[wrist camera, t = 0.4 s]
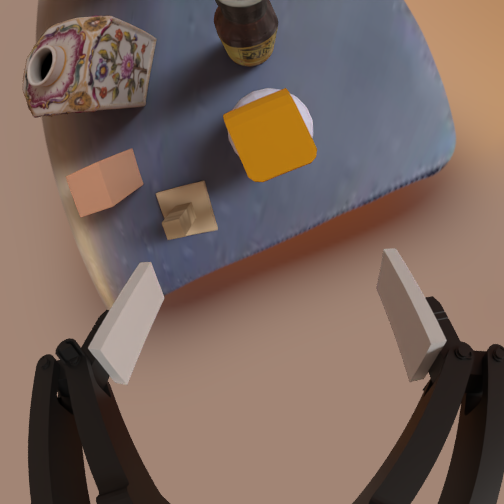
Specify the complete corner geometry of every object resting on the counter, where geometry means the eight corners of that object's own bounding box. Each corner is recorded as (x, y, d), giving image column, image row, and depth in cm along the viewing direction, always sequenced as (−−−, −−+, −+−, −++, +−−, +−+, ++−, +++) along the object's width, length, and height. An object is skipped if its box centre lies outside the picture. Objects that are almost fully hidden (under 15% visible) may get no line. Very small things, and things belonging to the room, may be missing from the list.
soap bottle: (253, 165, 38) (235, 246, 17) (226, 109, 34) (163, 109, 13) (311, 142, 36) (376, 192, 14) (285, 85, 32) (317, 42, 10)
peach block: (102, 160, 38) (65, 176, 29) (132, 148, 37) (97, 161, 28) (113, 194, 41) (80, 217, 32) (143, 184, 40) (113, 206, 31)
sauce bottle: (250, 76, 31) (234, 41, 14) (218, 49, 30) (174, 0, 12) (284, 47, 29) (301, -9, 12) (251, 21, 27) (238, -49, 10)
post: (157, 192, 40) (138, 208, 34) (204, 180, 39) (192, 195, 33) (172, 237, 44) (157, 259, 38) (217, 228, 43) (209, 250, 37)
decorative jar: (95, 43, 28) (18, 30, 12) (158, 36, 28) (92, 2, 12) (86, 110, 34) (5, 125, 18) (146, 109, 34) (71, 117, 18)
